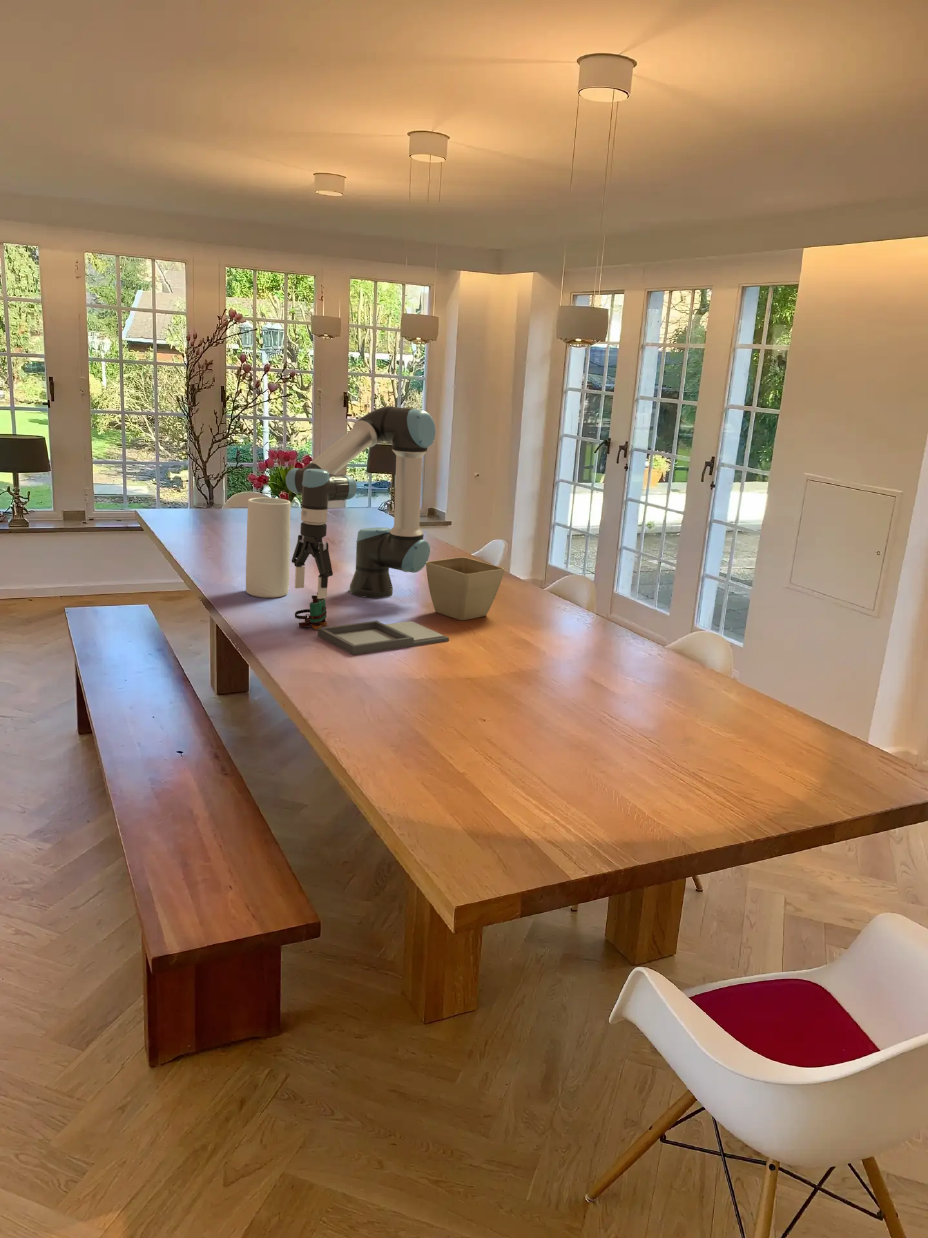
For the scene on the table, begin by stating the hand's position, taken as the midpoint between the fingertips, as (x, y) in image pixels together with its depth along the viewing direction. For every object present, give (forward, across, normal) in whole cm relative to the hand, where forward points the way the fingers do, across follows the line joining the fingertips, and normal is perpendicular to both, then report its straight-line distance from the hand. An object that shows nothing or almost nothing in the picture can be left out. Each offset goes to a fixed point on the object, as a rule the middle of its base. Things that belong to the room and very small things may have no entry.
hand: (310, 593), depth 271 cm
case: (+10, +20, +14) cm, 26 cm away
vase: (+10, -40, +6) cm, 42 cm away
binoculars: (+11, 0, 0) cm, 11 cm away
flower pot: (+10, +7, +54) cm, 55 cm away
